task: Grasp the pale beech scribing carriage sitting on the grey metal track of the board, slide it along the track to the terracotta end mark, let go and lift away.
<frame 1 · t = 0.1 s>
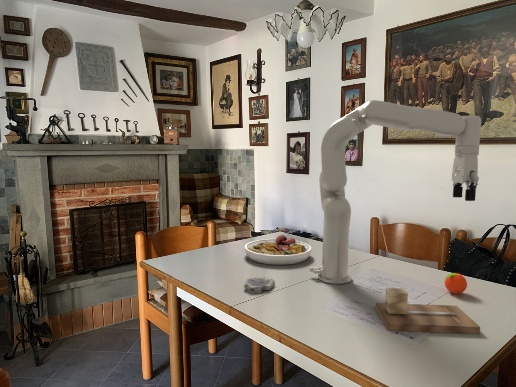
hand: (463, 199, 138), 31 cm above the table, tool pointing down, fingers open, 9 cm apart
bowl: (277, 257, 174), on the table
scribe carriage: (397, 300, 110), point 6 cm above the table, slide at 0.0 cm
clementine: (453, 293, 131), on the table
fossil: (258, 288, 135), on the table
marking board: (423, 320, 110), on the table
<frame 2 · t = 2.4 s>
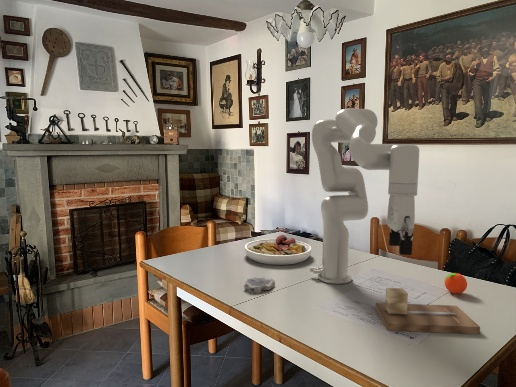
hand: (399, 249, 108), 20 cm above the table, tool pointing down, fingers open, 9 cm apart
nothing on the table moved.
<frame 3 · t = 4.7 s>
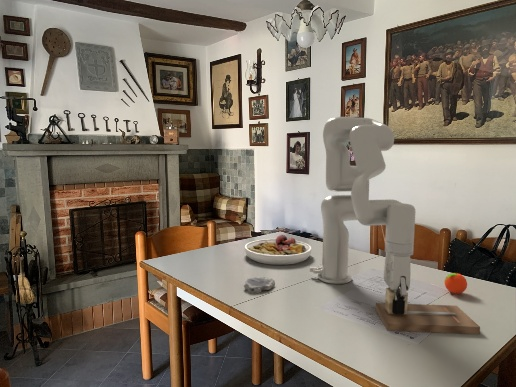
hand: (395, 309, 110), 3 cm above the table, tool pointing down, fingers closed on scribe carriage, 4 cm apart
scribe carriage: (397, 300, 110), point 6 cm above the table, slide at 0.0 cm, touching gripper
everything else where it was.
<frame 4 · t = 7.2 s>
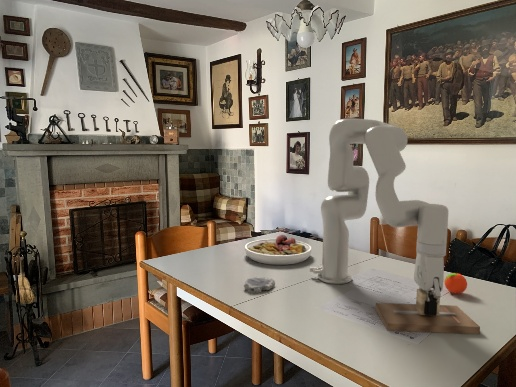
hand: (427, 310, 109), 3 cm above the table, tool pointing down, fingers closed on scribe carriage, 4 cm apart
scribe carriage: (428, 302, 109), point 6 cm above the table, slide at 8.8 cm, touching gripper
everything else where it was.
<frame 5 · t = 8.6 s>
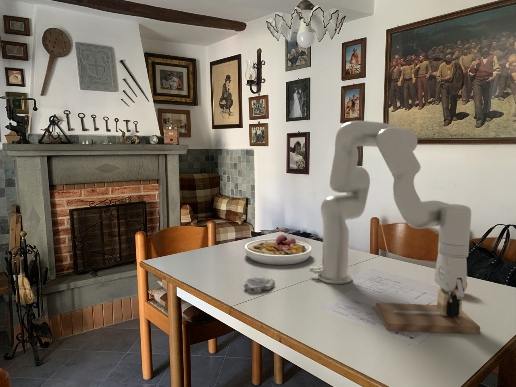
hand: (448, 311, 109), 3 cm above the table, tool pointing down, fingers closed on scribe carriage, 4 cm apart
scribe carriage: (450, 302, 108), point 6 cm above the table, slide at 14.8 cm, touching gripper
everything else where it was.
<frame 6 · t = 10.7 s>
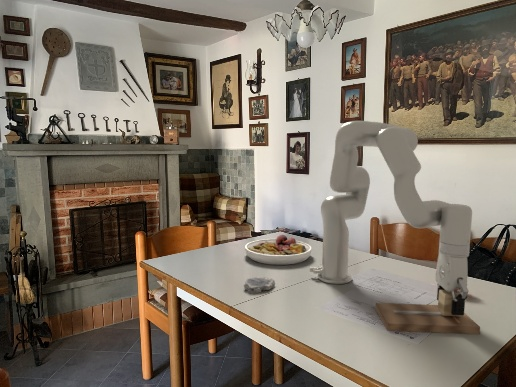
hand: (449, 307, 109), 4 cm above the table, tool pointing down, fingers open, 9 cm apart
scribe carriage: (451, 302, 108), point 6 cm above the table, slide at 15.0 cm
everything else where it was.
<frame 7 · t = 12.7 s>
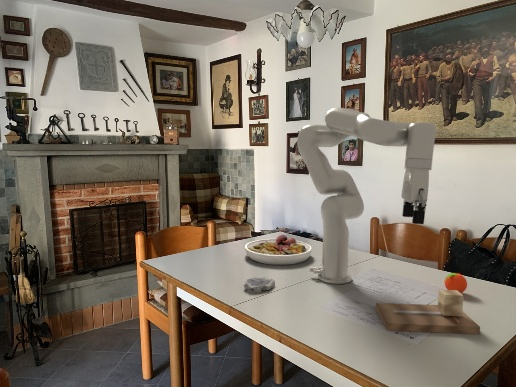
hand: (412, 220, 118), 27 cm above the table, tool pointing down, fingers open, 9 cm apart
nothing on the table moved.
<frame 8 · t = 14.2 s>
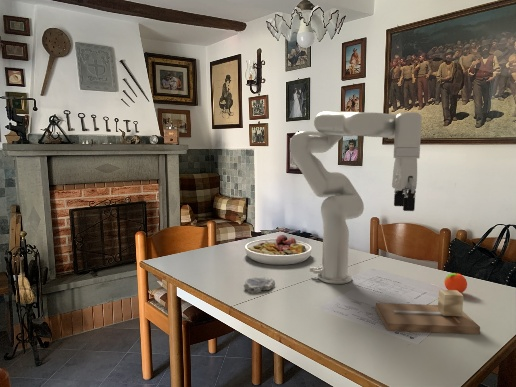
hand: (403, 208, 120), 30 cm above the table, tool pointing down, fingers open, 9 cm apart
nothing on the table moved.
at the end: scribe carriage slide at 15.0 cm; the gripper is holding nothing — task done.
